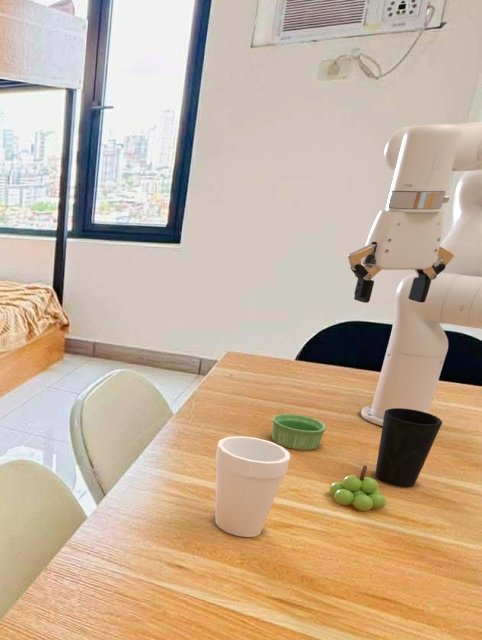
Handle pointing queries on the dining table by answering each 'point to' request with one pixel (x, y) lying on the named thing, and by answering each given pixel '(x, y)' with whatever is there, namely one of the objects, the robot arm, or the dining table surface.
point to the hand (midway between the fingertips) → (388, 301)
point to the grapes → (358, 492)
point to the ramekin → (297, 431)
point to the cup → (405, 445)
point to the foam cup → (247, 483)
